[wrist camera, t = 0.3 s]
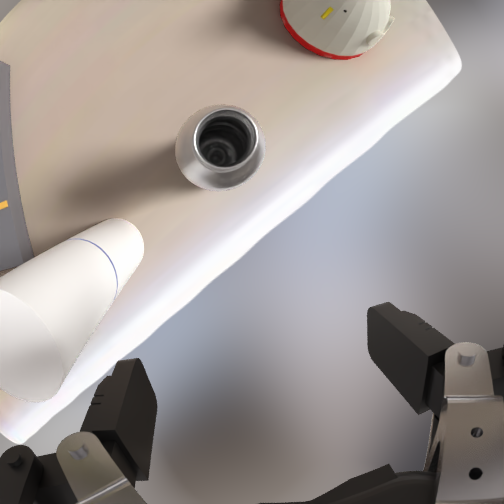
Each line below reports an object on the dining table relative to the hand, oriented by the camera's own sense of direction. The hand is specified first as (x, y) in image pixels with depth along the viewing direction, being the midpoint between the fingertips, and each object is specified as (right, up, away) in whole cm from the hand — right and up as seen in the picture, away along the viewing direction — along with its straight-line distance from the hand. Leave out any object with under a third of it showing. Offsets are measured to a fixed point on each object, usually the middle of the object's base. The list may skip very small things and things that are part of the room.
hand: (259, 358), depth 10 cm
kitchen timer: (+10, +35, +23) cm, 43 cm away
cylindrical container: (-17, +4, +27) cm, 32 cm away
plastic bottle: (-4, +15, +26) cm, 30 cm away
